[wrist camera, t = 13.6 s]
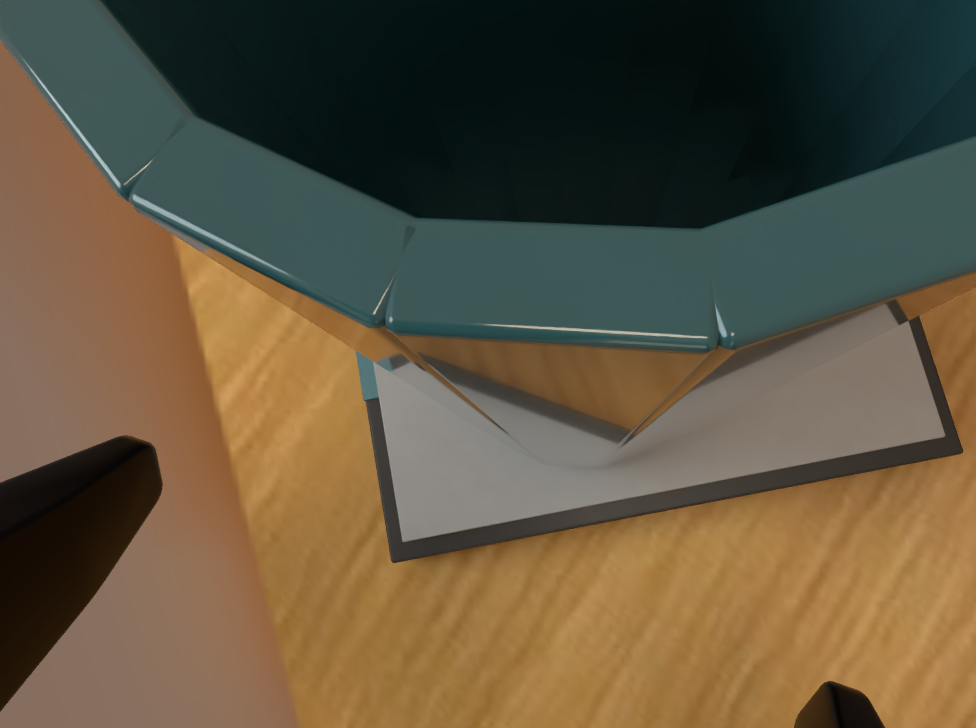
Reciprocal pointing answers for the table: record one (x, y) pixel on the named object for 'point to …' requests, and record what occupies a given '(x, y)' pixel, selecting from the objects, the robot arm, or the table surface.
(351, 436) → the table surface
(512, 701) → the table surface
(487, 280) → the tumbler
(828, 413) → the scale
